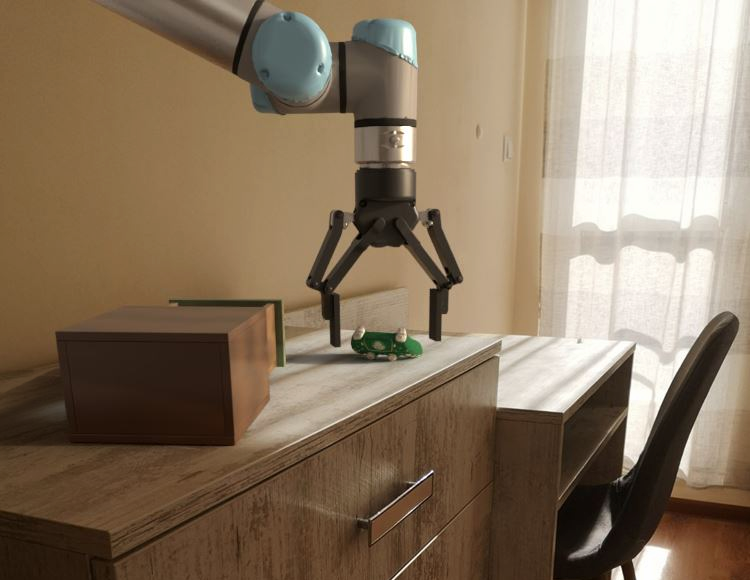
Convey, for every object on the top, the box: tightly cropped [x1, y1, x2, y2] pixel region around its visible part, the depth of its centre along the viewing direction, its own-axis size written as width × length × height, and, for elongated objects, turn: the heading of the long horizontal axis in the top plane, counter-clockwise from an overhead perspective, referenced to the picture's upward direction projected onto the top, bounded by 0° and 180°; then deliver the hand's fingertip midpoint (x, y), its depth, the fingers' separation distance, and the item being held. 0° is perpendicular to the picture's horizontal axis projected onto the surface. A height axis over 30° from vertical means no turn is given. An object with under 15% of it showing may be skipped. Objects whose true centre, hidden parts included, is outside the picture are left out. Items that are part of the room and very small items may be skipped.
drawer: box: [164, 297, 287, 375], centre depth 93 cm, size 20×13×8 cm
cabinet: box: [54, 305, 271, 446], centre depth 77 cm, size 17×15×10 cm
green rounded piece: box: [350, 324, 424, 362], centre depth 107 cm, size 9×4×6 cm
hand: (386, 343), depth 107 cm, fingers open, 13 cm apart
